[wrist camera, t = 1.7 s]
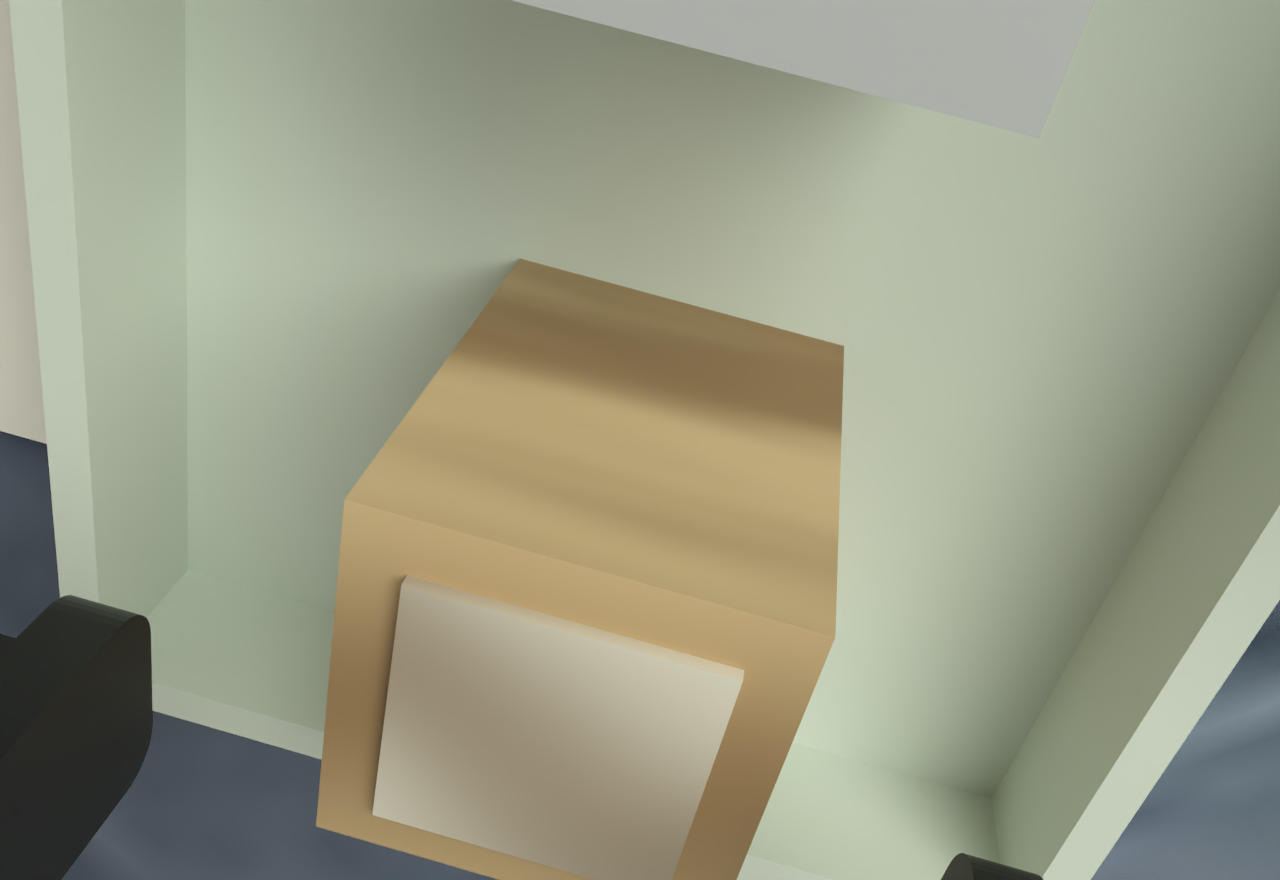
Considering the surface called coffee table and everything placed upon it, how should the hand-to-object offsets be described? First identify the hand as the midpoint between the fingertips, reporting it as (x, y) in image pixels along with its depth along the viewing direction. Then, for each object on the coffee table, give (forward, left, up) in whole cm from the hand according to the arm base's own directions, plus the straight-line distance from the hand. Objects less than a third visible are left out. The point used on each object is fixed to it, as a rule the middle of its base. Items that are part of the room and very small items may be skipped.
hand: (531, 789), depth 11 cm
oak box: (0, 0, -6) cm, 6 cm away
